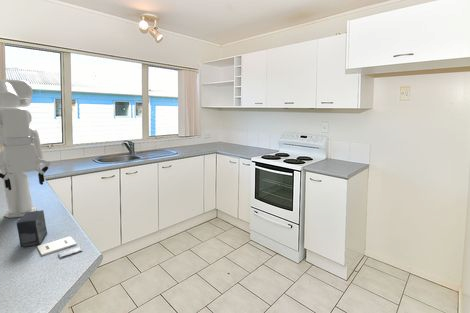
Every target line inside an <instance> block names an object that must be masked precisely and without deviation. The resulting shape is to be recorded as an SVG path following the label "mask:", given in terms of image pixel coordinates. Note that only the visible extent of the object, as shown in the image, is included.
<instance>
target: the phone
mask: <svg viewBox="0 0 470 313" xmlns="http://www.w3.org/2000/svg"><path fill="white" fill-rule="evenodd" d="M81 252H83V249H82V248H81V247H80V246H77V247H75V248H71V249H68V250H65V251H62V252H59V253H57V256H58V258H59V260H61V259H64V258H66V257H70V256H73V255H76V254H79V253H81Z"/></svg>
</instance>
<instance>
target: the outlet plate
mask: <svg viewBox="0 0 470 313" xmlns="http://www.w3.org/2000/svg"><path fill="white" fill-rule="evenodd" d="M73 246H77V242H76V241H75V240H74V239H73V237H72V236H66V237H63V238H60V239H57V240H53V241H51V242H50V241H49V242H47V243H42V244H40V245H38V246H36V247H37V250H38V252H39V253H40V255H41V256H47V255H49V254H53V253H56V252H58V251H61V250H65V249H67V248H71V247H73Z"/></svg>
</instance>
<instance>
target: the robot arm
mask: <svg viewBox="0 0 470 313" xmlns="http://www.w3.org/2000/svg"><path fill="white" fill-rule="evenodd" d="M33 91H34V90H33V88H32V86H31V84H30V83H29V82H28V81H26V80H23V79H6V78H2V79H1V78H0V147H3V150H2V151H0V178H1V179H2V183H3V188H4V194H5V198H6V199H5V200H6V204H7V211H5V212H4V217H5V218H11V219H13V218H21V217H22V216H23V215H24V214H25V213H26V212H33V211H38V208H37V206H34V205H33V201H32V194H31V188H30V182H29V181H30V180H29V177H28V175H27V174H26V173H29V172H35V171H37V173H38V182H39V184H40V185H42V186H43V185H44V183H45V176H44V175H45V173H46V172H47V170H49V168H50V165H51V161H48V160H46V159H44V155H43V150H42V145H41V140H40V135H39V132H38V130H37V129H36V127H34V126H30V124H31V122H32V113H31V111H30V110H29V109H27V108H26V107H29V106H30V105H31V103H32V100H33V94H34V93H33ZM43 164H44V166H43V167H42V169H41V166H42V165H43Z"/></svg>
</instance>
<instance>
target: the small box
mask: <svg viewBox="0 0 470 313" xmlns="http://www.w3.org/2000/svg"><path fill="white" fill-rule="evenodd" d="M15 224H16V227H17V234H18V239H19V244H20V248H21V249H25V248H30V247H31V248H32V247H37V246H39V245H42V242H43V241H44V239H45V238H46V236H47V235H48V230H47V225H46V219H45V212H44V210H37V211H33V212H26V213H25V214H24V215H23V216H22V217H19V220H17V222H16V223H15Z"/></svg>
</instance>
